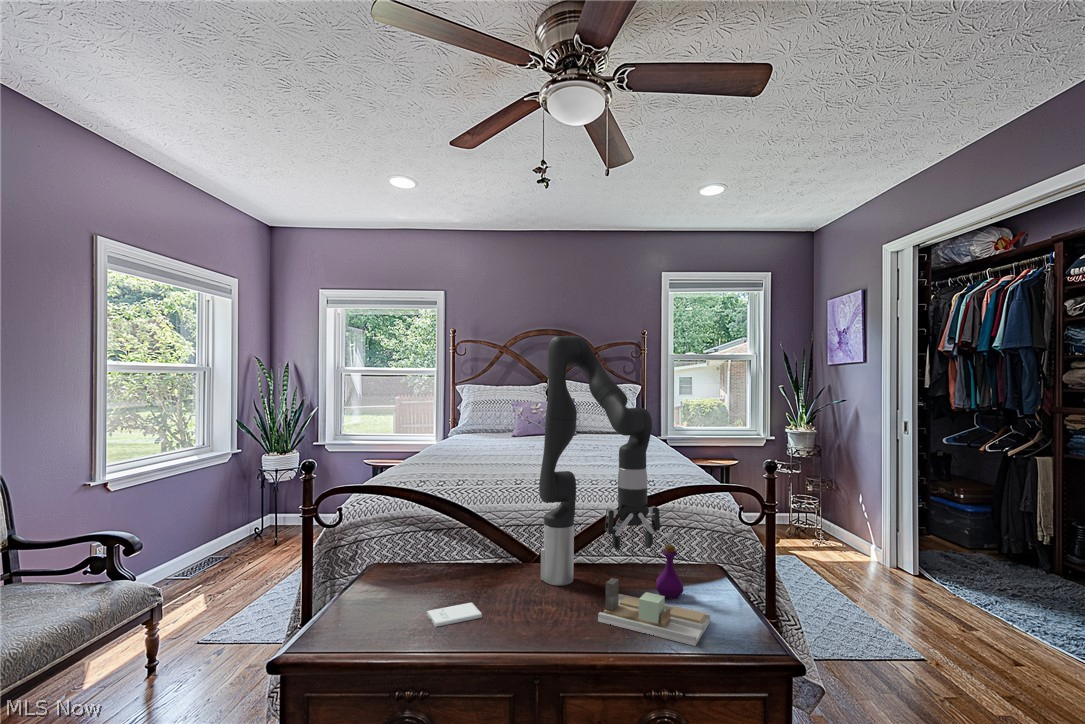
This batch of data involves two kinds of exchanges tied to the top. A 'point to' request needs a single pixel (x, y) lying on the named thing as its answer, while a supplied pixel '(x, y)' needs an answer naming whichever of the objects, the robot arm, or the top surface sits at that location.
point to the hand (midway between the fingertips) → (632, 548)
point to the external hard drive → (454, 614)
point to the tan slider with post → (625, 612)
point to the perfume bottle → (669, 574)
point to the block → (651, 607)
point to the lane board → (681, 627)
